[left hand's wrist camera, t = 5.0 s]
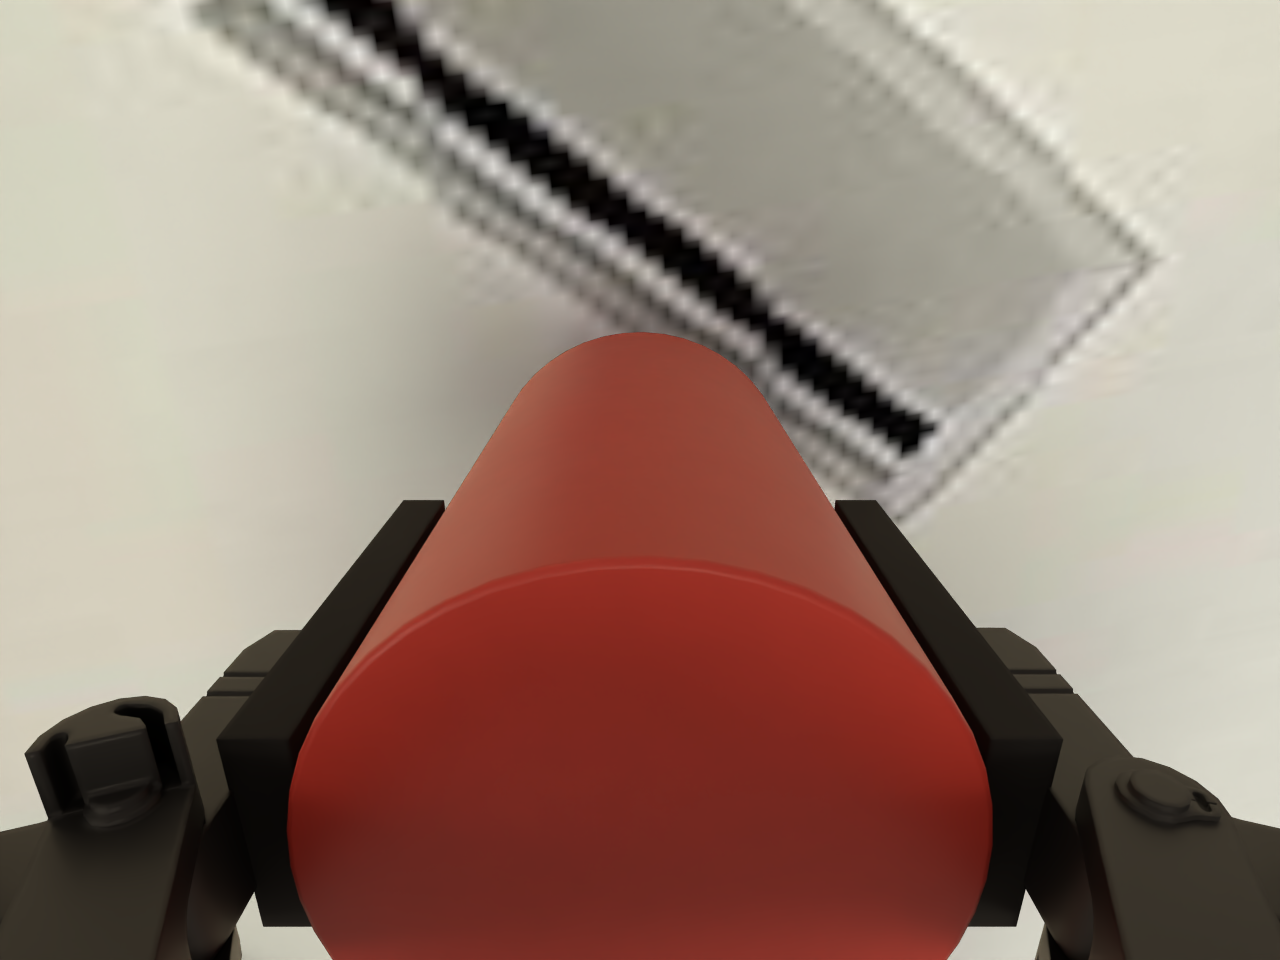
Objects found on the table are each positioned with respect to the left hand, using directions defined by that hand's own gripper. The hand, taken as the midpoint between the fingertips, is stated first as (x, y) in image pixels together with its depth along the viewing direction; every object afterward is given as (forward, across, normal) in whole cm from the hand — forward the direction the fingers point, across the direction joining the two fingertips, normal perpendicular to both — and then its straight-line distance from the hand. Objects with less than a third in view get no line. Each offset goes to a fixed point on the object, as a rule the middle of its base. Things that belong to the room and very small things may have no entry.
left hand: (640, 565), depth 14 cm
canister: (+5, 0, 0) cm, 5 cm away
